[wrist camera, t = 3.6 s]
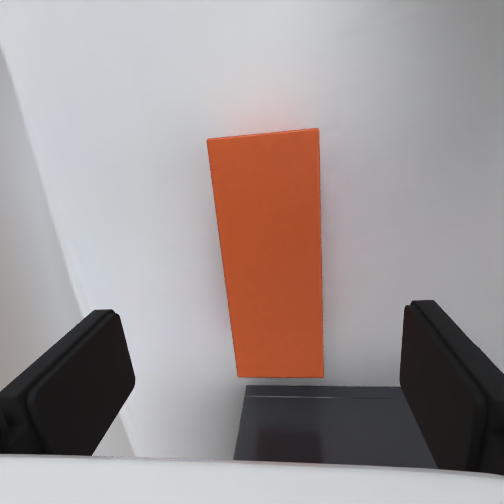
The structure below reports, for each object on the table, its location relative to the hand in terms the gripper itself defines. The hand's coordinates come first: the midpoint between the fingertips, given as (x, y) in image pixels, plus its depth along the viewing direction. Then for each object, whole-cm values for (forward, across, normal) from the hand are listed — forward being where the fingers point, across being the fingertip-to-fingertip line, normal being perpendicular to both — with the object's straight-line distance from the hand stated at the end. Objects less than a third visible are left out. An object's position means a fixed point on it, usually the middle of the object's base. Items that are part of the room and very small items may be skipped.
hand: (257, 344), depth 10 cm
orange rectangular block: (+9, 0, -1) cm, 9 cm away
